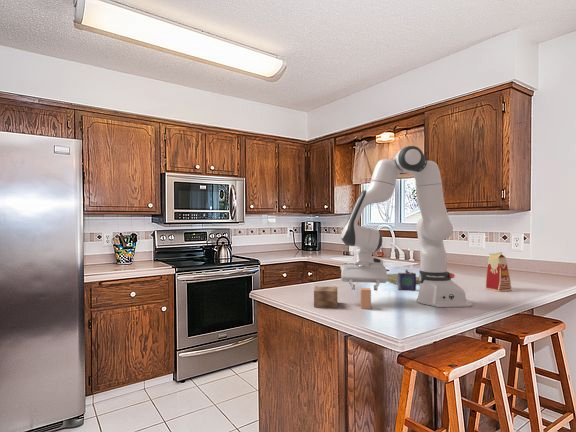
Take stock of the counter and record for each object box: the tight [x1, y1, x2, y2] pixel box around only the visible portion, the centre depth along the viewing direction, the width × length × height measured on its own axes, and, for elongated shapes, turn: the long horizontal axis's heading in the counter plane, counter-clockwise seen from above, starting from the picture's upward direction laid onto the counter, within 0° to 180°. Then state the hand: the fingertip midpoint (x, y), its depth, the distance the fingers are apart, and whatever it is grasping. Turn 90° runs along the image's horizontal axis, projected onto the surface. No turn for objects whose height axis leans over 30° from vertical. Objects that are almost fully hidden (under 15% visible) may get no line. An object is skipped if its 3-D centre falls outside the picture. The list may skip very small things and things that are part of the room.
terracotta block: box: [360, 287, 372, 310], centre depth 156 cm, size 4×4×8 cm
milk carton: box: [485, 251, 513, 293], centre depth 191 cm, size 9×9×20 cm
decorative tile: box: [387, 273, 420, 286], centre depth 215 cm, size 19×20×4 cm
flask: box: [397, 269, 417, 292], centre depth 191 cm, size 9×3×11 cm, turn 79°
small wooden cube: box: [313, 285, 338, 309], centre depth 161 cm, size 10×10×7 cm
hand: (364, 289), depth 158 cm, fingers open, 8 cm apart
